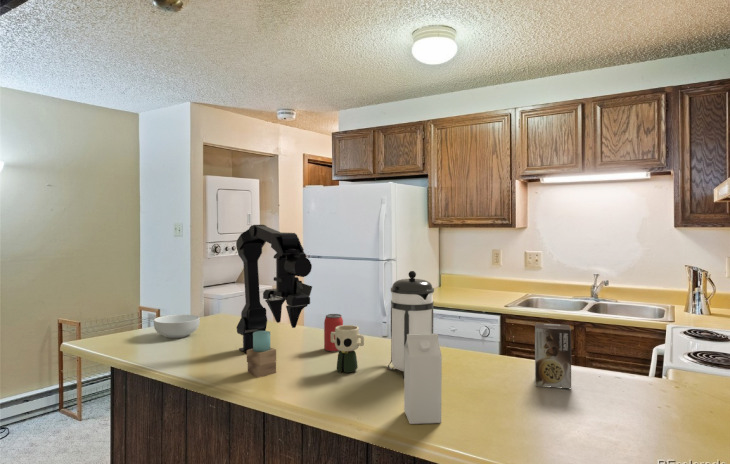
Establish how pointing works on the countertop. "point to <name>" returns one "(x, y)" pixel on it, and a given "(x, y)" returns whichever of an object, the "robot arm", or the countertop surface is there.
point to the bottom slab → (262, 369)
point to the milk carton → (422, 378)
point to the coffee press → (409, 314)
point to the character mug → (347, 346)
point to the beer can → (331, 330)
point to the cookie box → (552, 355)
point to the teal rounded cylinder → (261, 341)
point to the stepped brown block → (261, 357)
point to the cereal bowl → (176, 325)
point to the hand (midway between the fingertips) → (285, 325)
